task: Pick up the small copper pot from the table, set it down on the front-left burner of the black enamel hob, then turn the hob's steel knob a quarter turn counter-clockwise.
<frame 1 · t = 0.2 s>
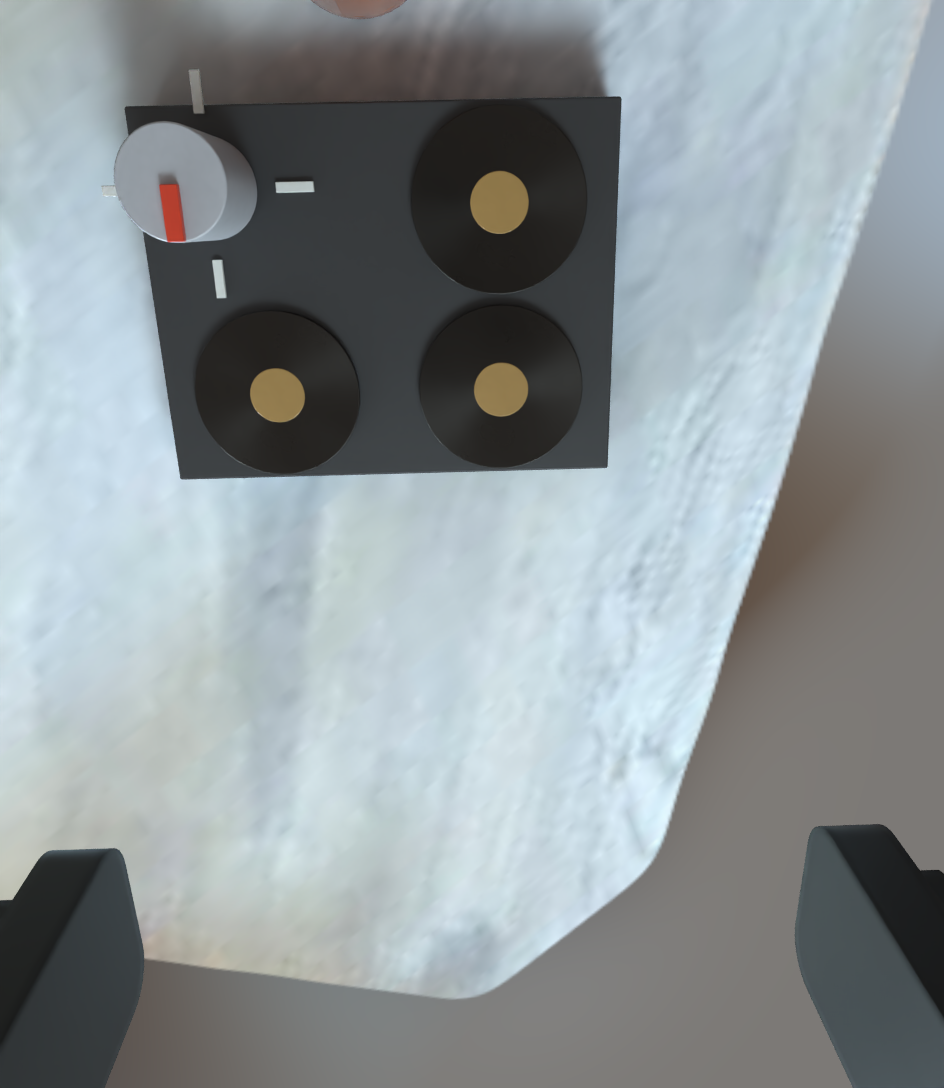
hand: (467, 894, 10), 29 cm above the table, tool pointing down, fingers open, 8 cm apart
burners: (384, 302, 33), on the hob, point 3 cm above the table
hob knob: (189, 186, 29), point 5 cm above the table, hinge at 0.0°
hob: (389, 296, 35), on the table
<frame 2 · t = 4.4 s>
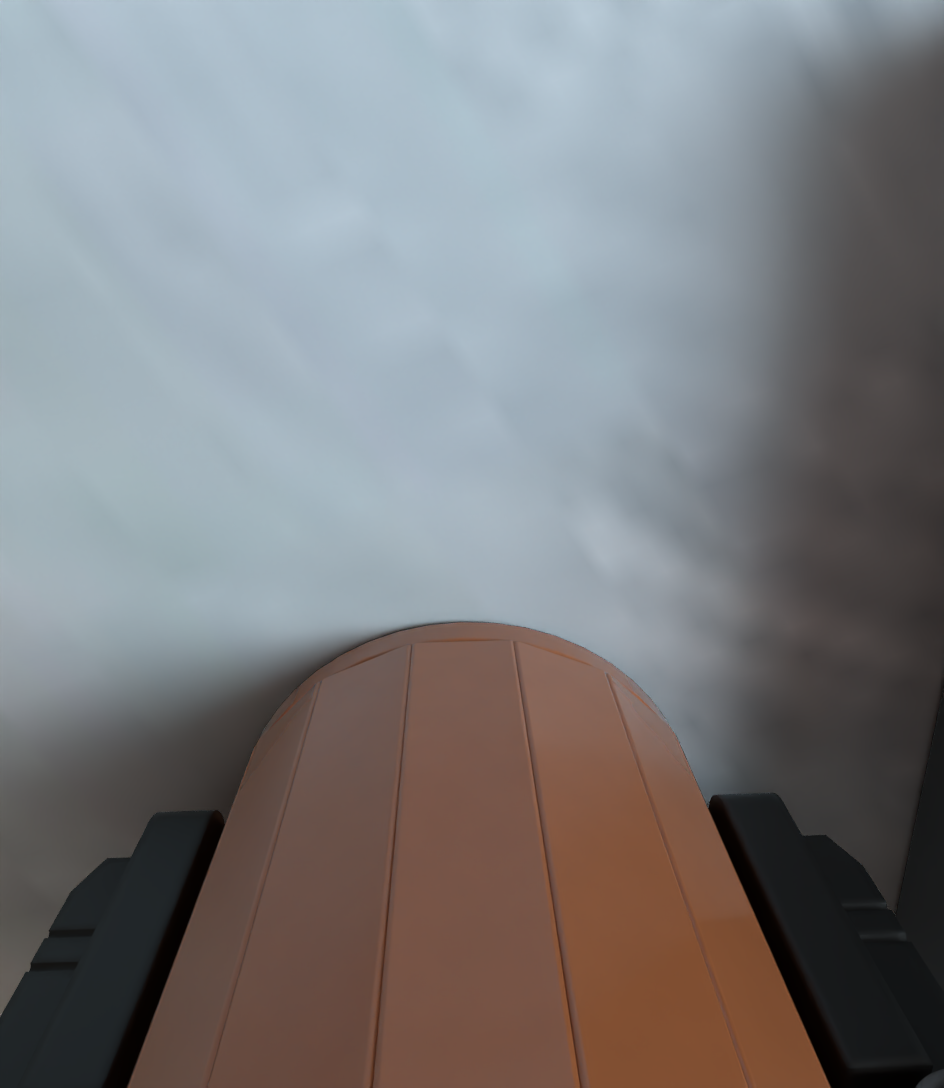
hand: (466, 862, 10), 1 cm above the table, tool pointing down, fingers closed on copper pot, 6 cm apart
copper pot: (467, 820, 11), on the table, touching gripper
when the fingers open (4 cm above the table, at t = 10.4 s): copper pot stays where it is, resting on burners.
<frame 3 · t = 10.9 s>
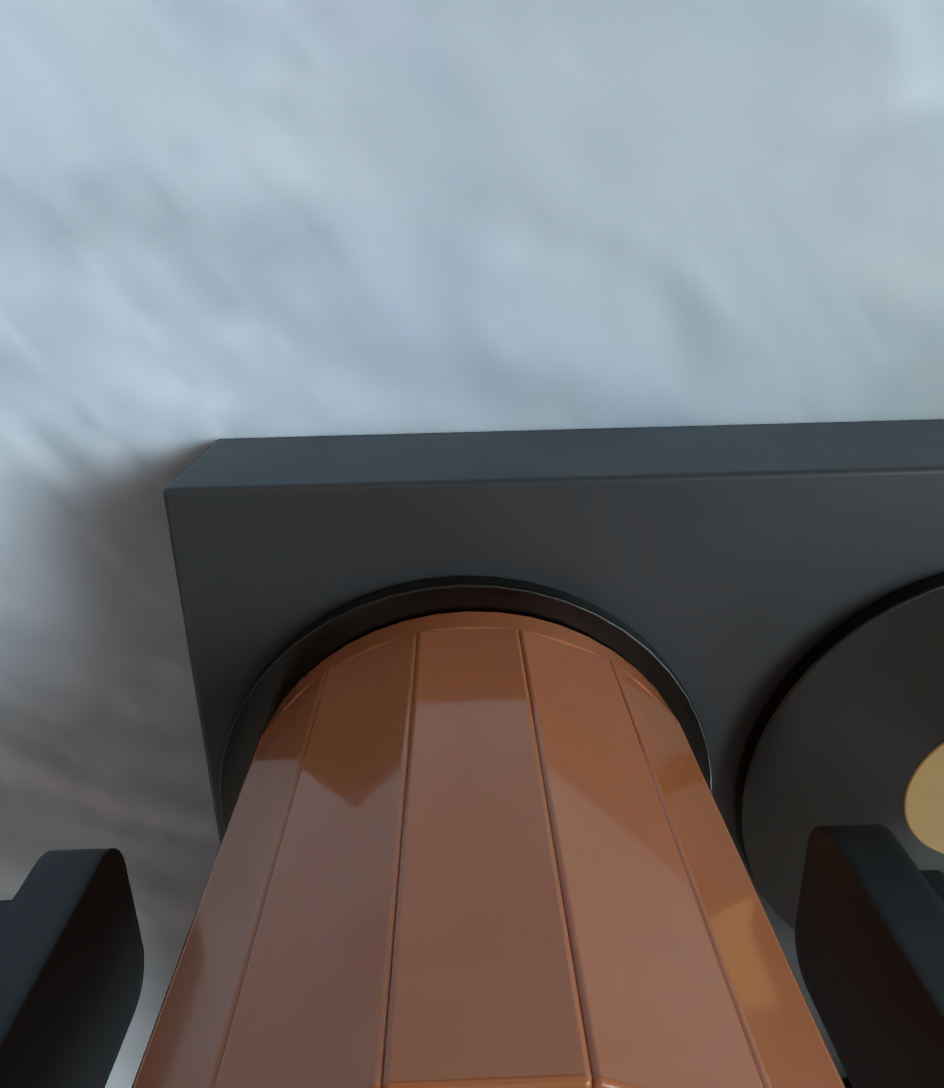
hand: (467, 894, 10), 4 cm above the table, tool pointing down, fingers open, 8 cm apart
burners: (698, 1032, 13), on the hob, point 3 cm above the table
copper pot: (472, 808, 11), point 3 cm above the table, touching burners
hob: (659, 902, 16), on the table
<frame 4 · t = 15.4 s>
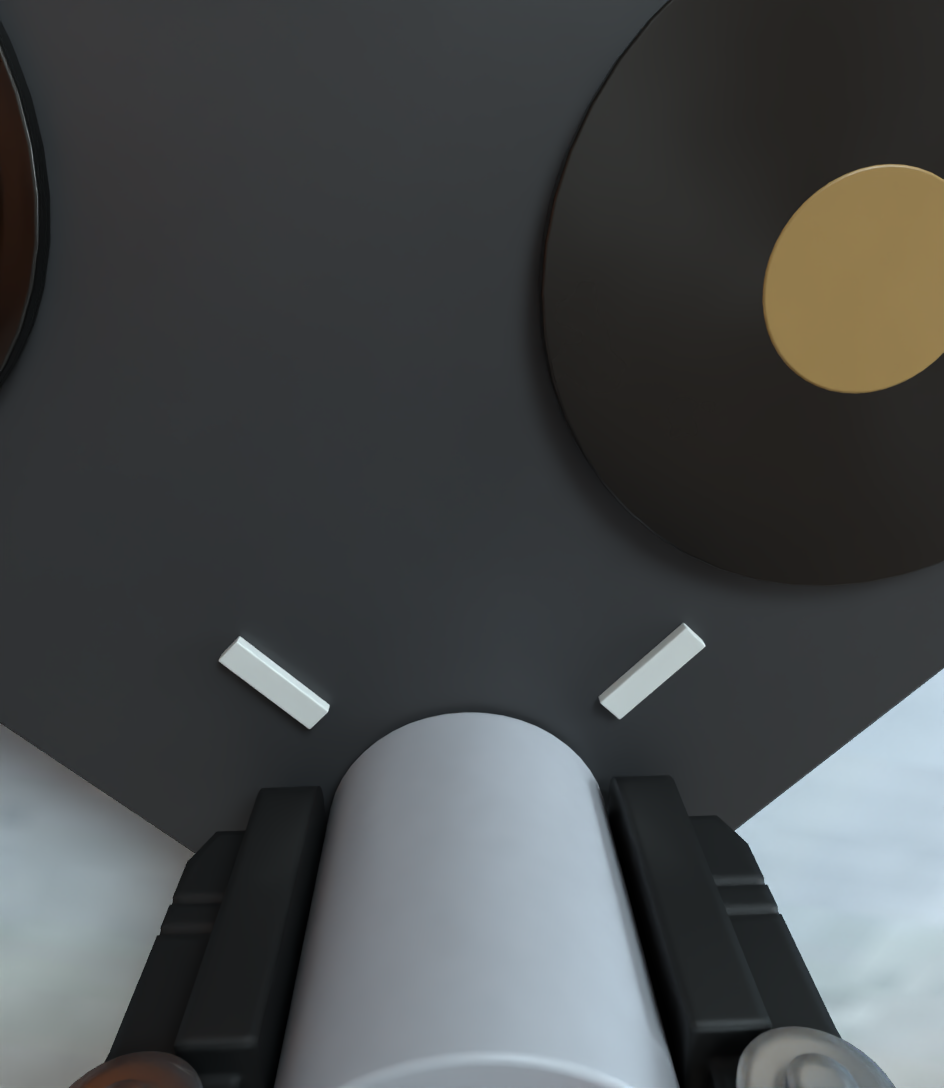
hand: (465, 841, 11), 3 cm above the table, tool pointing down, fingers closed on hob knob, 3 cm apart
burners: (297, 221, 8), on the hob, point 3 cm above the table
hob knob: (472, 988, 9), point 5 cm above the table, hinge at 0.0°, touching gripper
hob: (333, 220, 11), on the table
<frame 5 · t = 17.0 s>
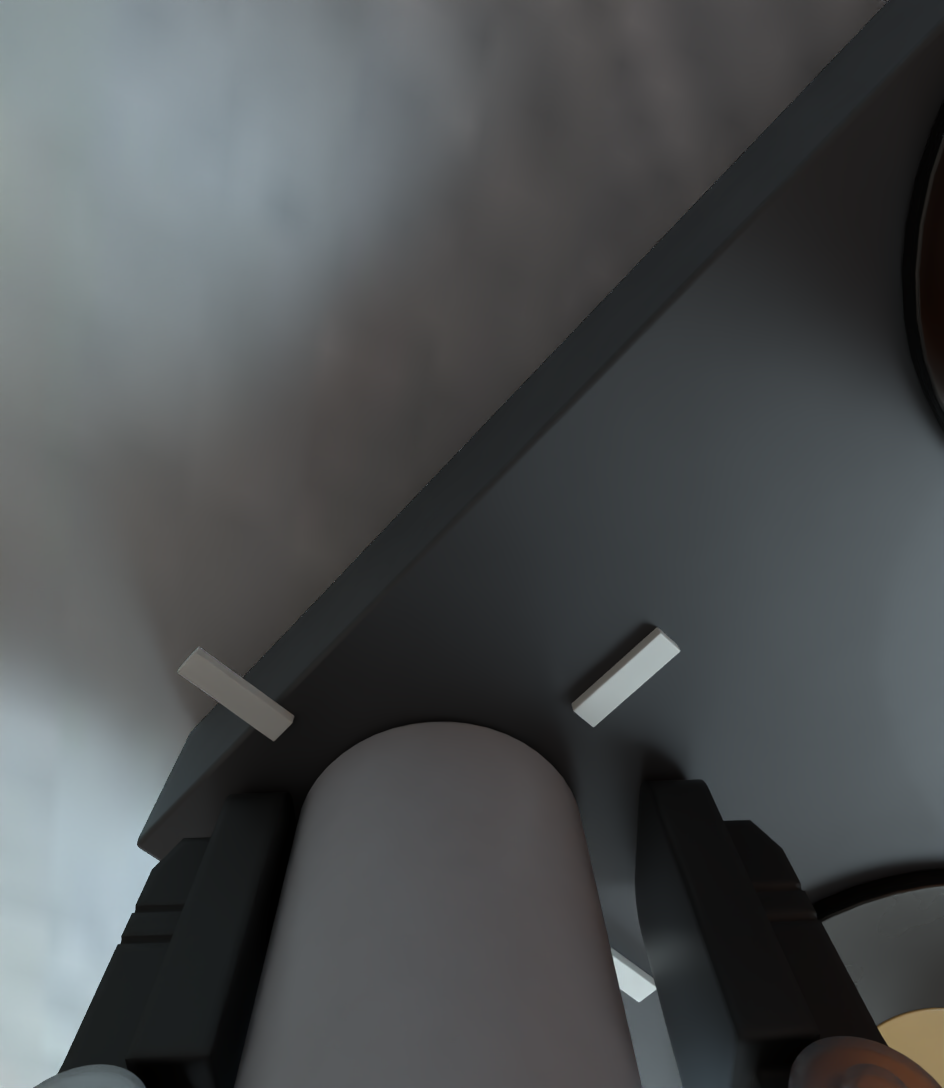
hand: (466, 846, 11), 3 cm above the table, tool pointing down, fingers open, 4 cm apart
hob knob: (439, 1010, 8), point 5 cm above the table, hinge at 91.0°
hob: (930, 620, 13), on the table
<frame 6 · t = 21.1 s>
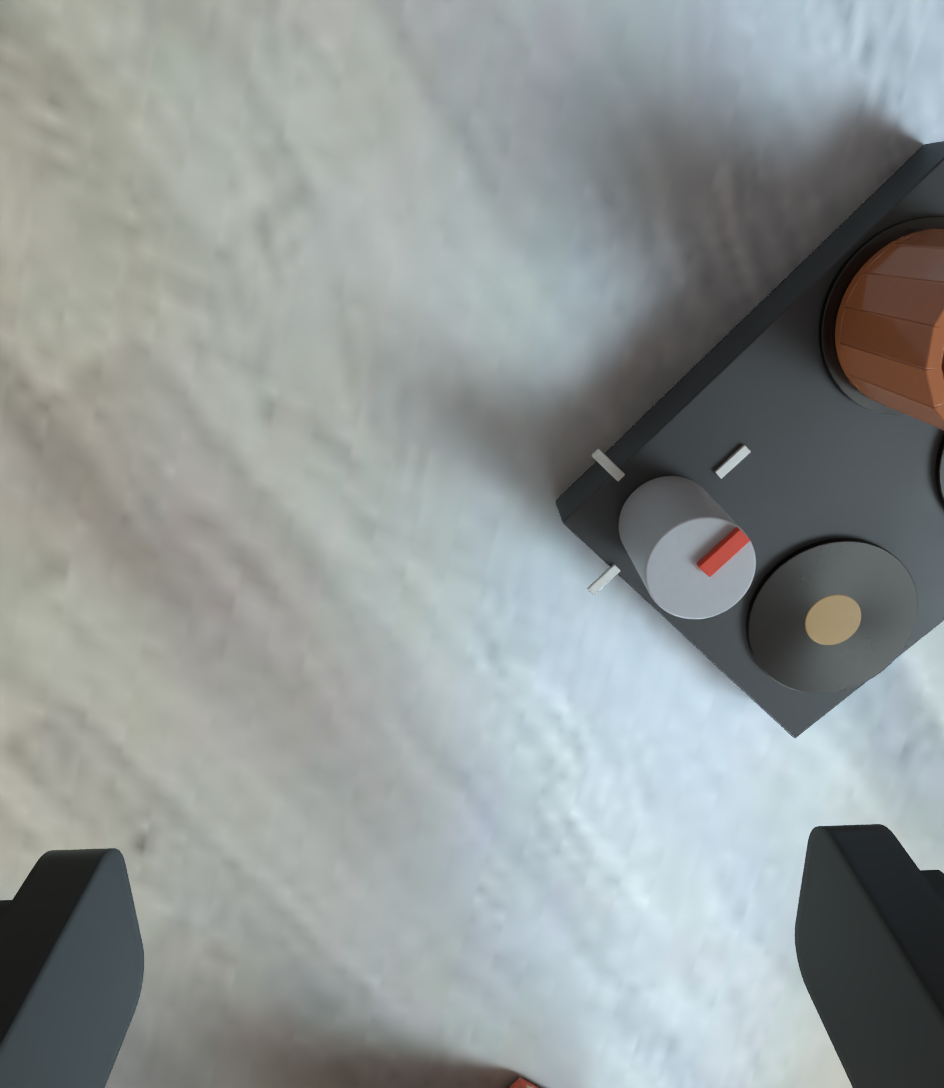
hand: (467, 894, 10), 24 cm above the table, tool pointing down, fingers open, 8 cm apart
burners: (871, 478, 31), on the hob, point 2 cm above the table
hob knob: (683, 545, 29), point 5 cm above the table, hinge at 91.0°
copper pot: (920, 321, 29), point 3 cm above the table, touching burners
hob: (839, 459, 33), on the table
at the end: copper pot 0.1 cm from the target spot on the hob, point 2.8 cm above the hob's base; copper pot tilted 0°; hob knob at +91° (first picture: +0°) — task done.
